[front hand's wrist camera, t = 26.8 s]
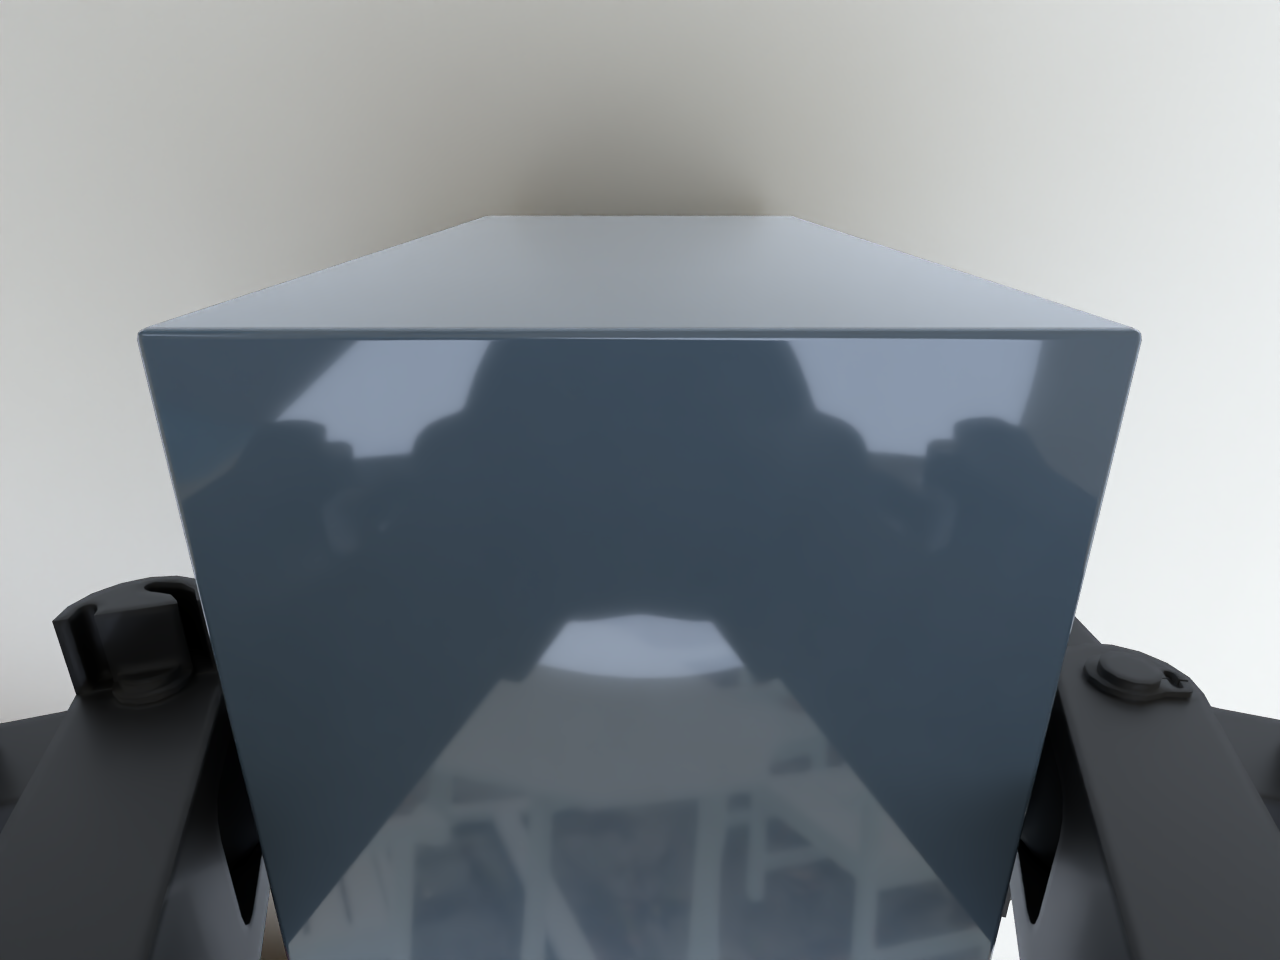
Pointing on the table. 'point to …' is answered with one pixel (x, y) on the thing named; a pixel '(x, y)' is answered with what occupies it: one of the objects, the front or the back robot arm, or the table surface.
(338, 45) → the table surface
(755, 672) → the block
